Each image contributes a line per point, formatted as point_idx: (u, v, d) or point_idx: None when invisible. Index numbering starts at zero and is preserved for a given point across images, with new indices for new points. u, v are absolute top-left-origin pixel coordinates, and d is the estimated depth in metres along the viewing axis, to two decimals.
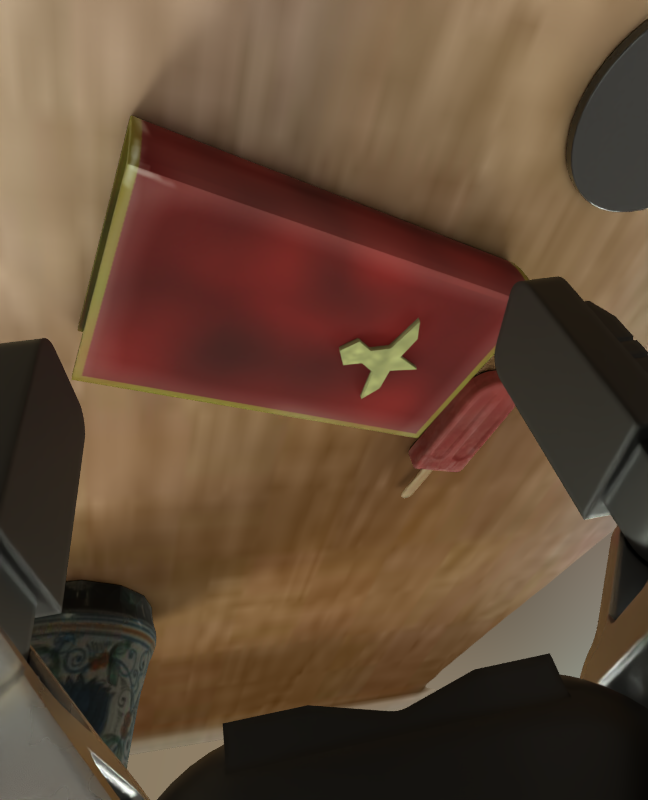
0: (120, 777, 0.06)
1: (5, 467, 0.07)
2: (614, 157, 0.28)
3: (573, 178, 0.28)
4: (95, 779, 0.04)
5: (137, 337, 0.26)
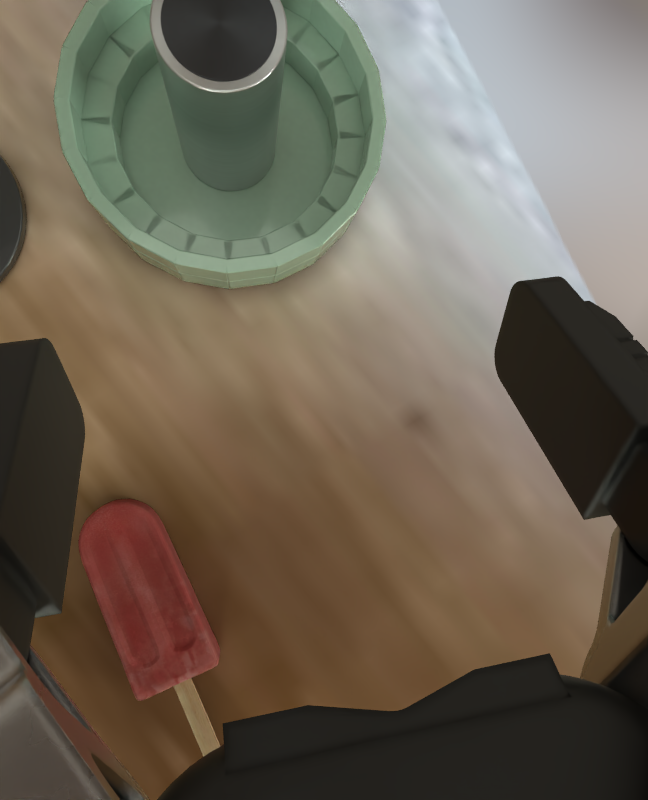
0: (120, 777, 0.06)
1: (5, 467, 0.07)
2: None
3: None
4: (95, 779, 0.04)
5: None
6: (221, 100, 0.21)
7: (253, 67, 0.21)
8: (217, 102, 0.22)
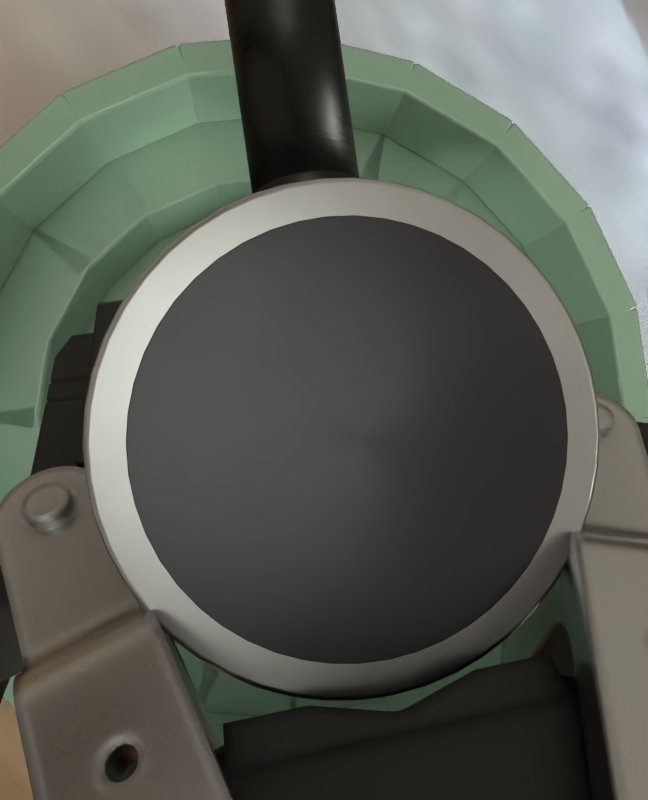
0: (208, 725, 0.06)
1: None
2: None
3: None
4: (200, 723, 0.04)
5: None
6: None
7: (484, 596, 0.05)
8: None
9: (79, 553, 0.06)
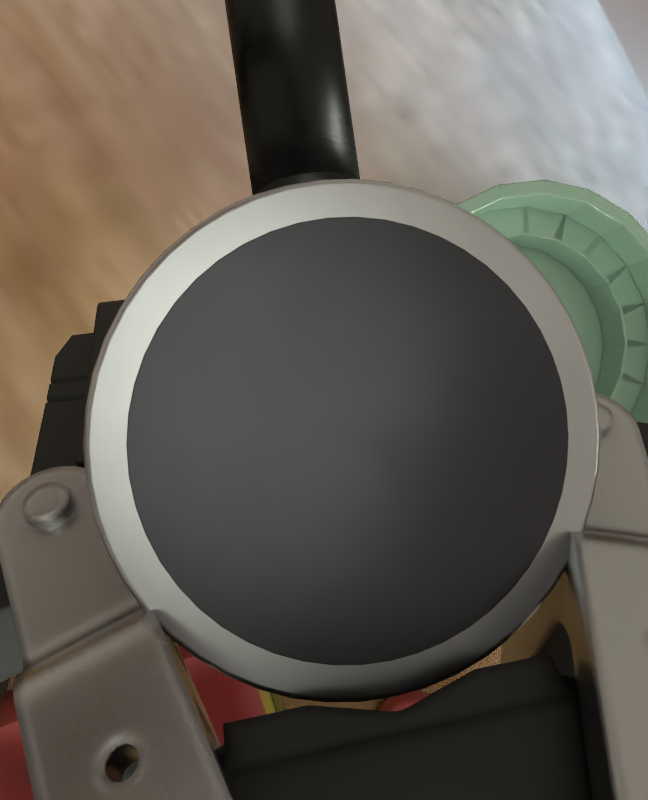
0: (208, 725, 0.06)
1: None
2: None
3: None
4: (199, 723, 0.04)
5: None
6: None
7: (484, 598, 0.05)
8: None
9: (79, 553, 0.06)
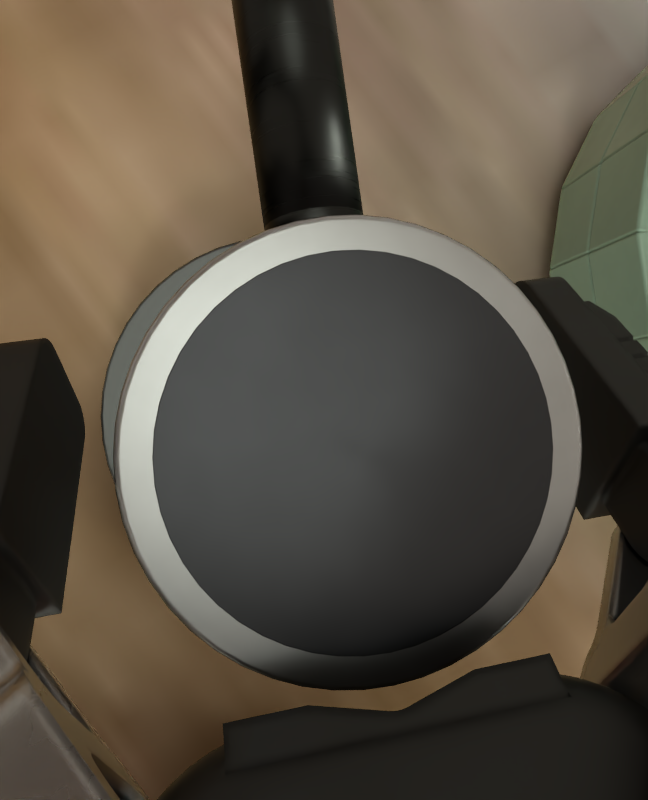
0: (120, 777, 0.06)
1: (5, 467, 0.07)
2: None
3: None
4: (95, 779, 0.04)
5: None
6: None
7: (476, 595, 0.06)
8: None
9: None
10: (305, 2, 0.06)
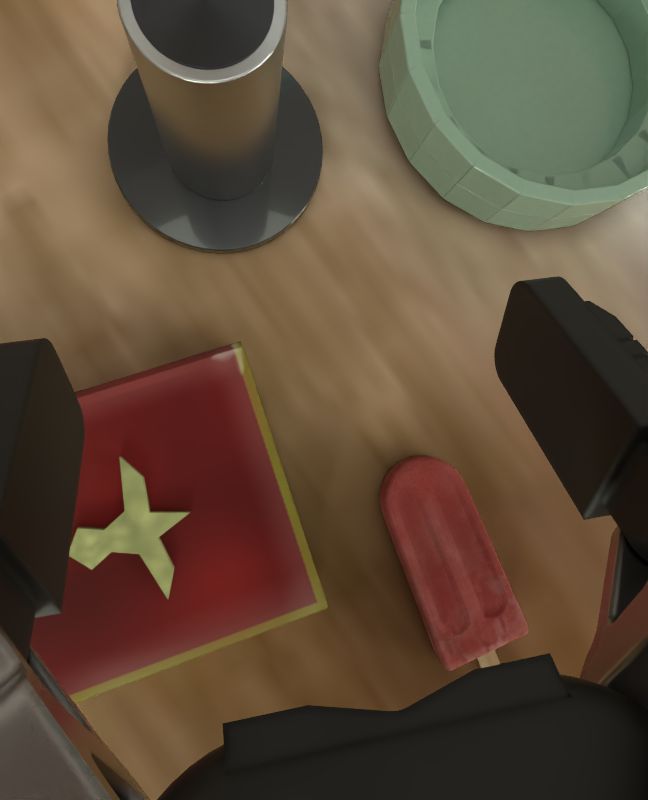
0: (120, 777, 0.06)
1: (5, 467, 0.07)
2: (207, 206, 0.27)
3: (194, 247, 0.27)
4: (95, 778, 0.04)
5: None
6: (206, 93, 0.17)
7: (245, 52, 0.17)
8: (201, 96, 0.18)
9: None
10: None
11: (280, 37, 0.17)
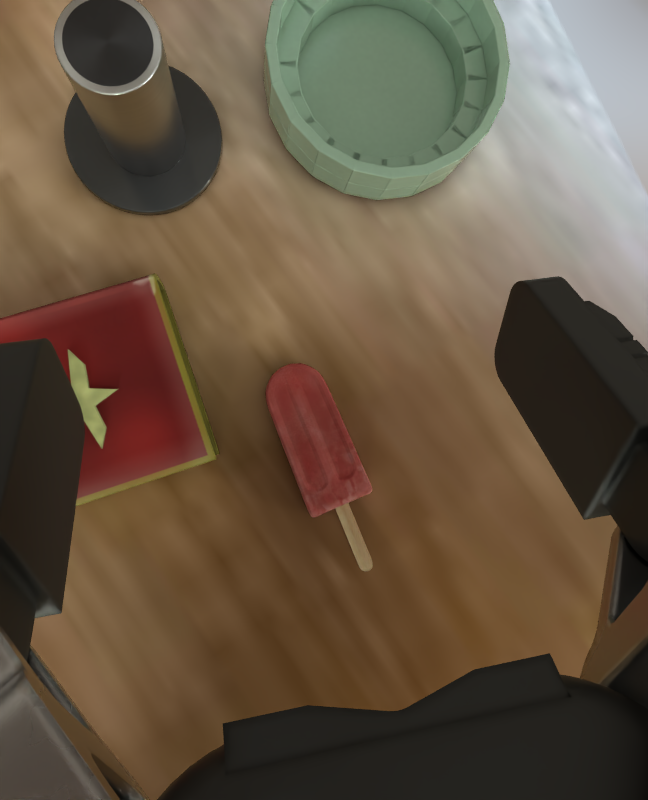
0: (120, 777, 0.06)
1: (5, 467, 0.07)
2: (137, 180, 0.37)
3: (127, 210, 0.37)
4: (95, 779, 0.04)
5: None
6: (112, 100, 0.28)
7: (134, 75, 0.27)
8: (109, 102, 0.28)
9: None
10: None
11: (157, 66, 0.27)
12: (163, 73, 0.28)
